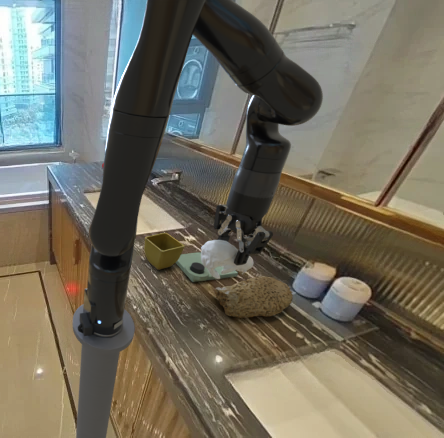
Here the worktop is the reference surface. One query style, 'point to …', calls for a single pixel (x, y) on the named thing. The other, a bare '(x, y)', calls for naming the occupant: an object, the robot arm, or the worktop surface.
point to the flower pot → (162, 250)
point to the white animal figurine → (222, 258)
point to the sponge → (255, 297)
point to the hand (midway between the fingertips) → (229, 255)
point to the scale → (188, 259)
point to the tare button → (197, 268)
